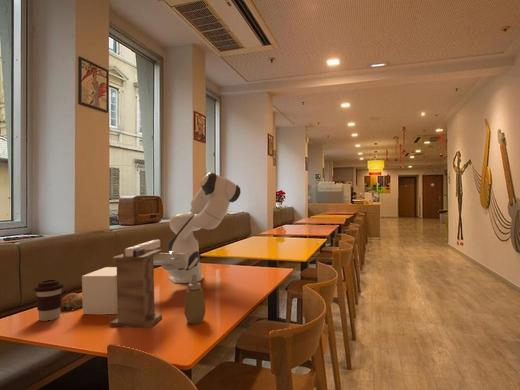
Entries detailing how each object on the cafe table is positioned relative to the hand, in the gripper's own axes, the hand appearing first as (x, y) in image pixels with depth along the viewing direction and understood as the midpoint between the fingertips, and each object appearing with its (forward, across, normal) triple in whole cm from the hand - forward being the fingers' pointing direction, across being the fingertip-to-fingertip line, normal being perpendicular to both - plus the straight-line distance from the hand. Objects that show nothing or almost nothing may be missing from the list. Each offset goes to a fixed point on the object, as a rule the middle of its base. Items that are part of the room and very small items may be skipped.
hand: (161, 252), depth 159 cm
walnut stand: (+9, 0, +31) cm, 32 cm away
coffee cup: (+9, -38, +31) cm, 50 cm away
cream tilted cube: (-3, -20, +24) cm, 31 cm away
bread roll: (-3, -38, +25) cm, 45 cm away
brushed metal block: (+18, 0, +6) cm, 18 cm away
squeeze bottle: (+10, +23, +32) cm, 41 cm away
